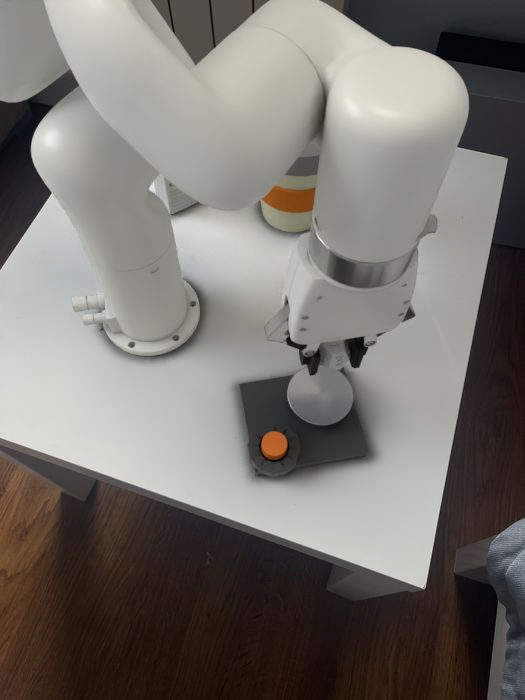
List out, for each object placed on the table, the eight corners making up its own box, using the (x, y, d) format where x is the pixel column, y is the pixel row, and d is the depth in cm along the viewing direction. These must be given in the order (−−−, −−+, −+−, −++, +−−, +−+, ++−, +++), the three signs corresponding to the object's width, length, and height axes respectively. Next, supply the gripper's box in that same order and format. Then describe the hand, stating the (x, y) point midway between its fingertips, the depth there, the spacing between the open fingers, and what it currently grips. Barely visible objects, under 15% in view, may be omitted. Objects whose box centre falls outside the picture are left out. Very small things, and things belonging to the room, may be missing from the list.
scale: (253, 484, 60) (253, 476, 57) (236, 389, 66) (235, 378, 63) (368, 463, 61) (373, 455, 59) (341, 371, 67) (345, 360, 64)
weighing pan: (294, 431, 60) (295, 430, 59) (281, 371, 63) (281, 369, 63) (360, 420, 61) (361, 418, 60) (343, 361, 64) (343, 359, 64)
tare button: (263, 462, 59) (264, 457, 57) (259, 438, 60) (259, 433, 59) (289, 457, 59) (289, 453, 57) (283, 433, 60) (284, 429, 59)
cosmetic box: (171, 216, 79) (158, 149, 68) (155, 198, 81) (140, 130, 70) (206, 198, 81) (199, 130, 70) (190, 181, 82) (181, 112, 72)
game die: (310, 345, 55) (313, 329, 52) (346, 343, 55) (351, 328, 52) (313, 376, 53) (316, 361, 51) (351, 374, 53) (356, 360, 51)
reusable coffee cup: (302, 256, 76) (312, 174, 62) (232, 214, 79) (228, 129, 66) (350, 203, 81) (369, 117, 67) (282, 167, 84) (288, 78, 71)
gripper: (454, 185, 41) (398, 315, 57) (238, 213, 39) (243, 340, 55) (492, 263, 37) (421, 378, 53) (256, 298, 35) (256, 406, 52)
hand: (330, 358), depth 54 cm, fingers closed on game die, 3 cm apart
